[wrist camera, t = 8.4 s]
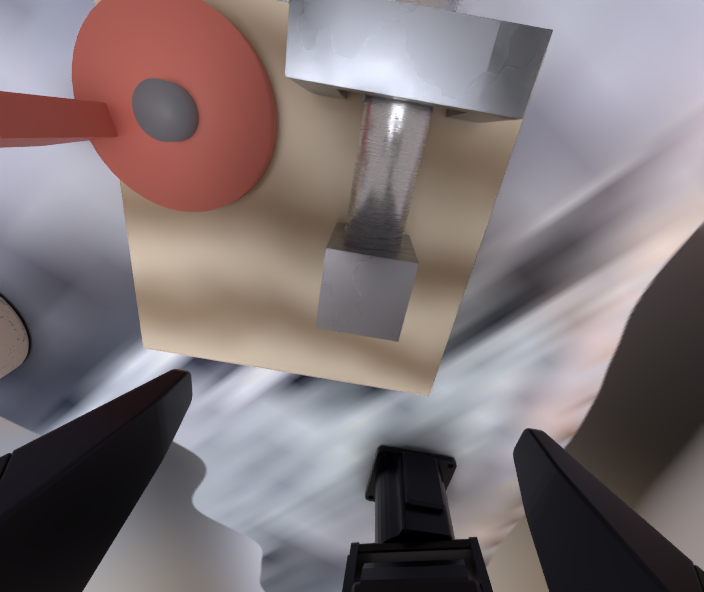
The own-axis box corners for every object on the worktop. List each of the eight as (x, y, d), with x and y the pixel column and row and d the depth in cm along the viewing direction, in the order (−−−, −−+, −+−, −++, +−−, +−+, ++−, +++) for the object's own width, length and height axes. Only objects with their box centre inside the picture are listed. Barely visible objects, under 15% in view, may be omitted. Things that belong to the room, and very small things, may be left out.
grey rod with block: (393, 299, 20) (398, 342, 16) (327, 288, 20) (315, 327, 16) (473, -31, 13) (514, -101, 9) (374, -49, 13) (374, -127, 9)
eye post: (478, 123, 16) (522, 119, 11) (312, 93, 16) (284, 76, 11) (495, 63, 15) (552, 30, 10) (318, 31, 15) (290, -18, 10)
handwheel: (254, -22, 14) (163, -137, 8) (292, 199, 18) (250, 233, 12) (8, 19, 15) (-235, -56, 9) (93, 218, 19) (-37, 257, 13)
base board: (426, 384, 25) (428, 396, 23) (153, 338, 24) (143, 348, 23) (535, 55, 16) (547, 49, 15) (109, -22, 15) (89, -34, 14)
